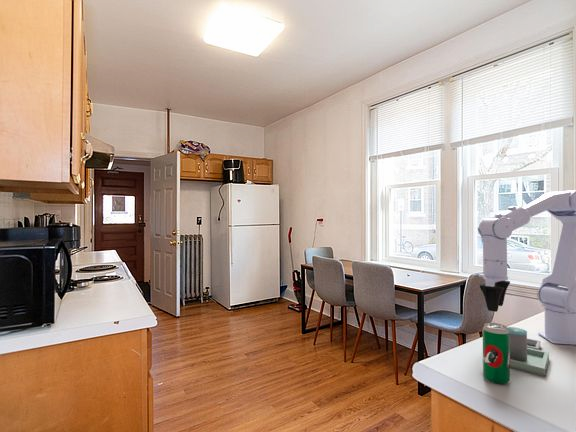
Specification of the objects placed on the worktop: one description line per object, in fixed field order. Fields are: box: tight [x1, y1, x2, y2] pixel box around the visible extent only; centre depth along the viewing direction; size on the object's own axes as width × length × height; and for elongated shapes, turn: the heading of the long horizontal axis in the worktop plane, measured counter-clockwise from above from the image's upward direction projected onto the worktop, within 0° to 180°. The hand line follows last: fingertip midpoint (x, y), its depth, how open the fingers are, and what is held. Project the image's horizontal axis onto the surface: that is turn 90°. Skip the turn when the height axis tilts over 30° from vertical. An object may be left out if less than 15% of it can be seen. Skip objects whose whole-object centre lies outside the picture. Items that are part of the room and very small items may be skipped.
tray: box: [510, 348, 550, 378], centre depth 81 cm, size 12×12×2 cm
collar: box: [527, 338, 541, 350], centre depth 90 cm, size 7×7×2 cm
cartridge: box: [506, 326, 528, 362], centre depth 81 cm, size 4×4×7 cm
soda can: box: [482, 322, 511, 385], centre depth 72 cm, size 5×5×12 cm
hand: (495, 308), depth 91 cm, fingers open, 7 cm apart
